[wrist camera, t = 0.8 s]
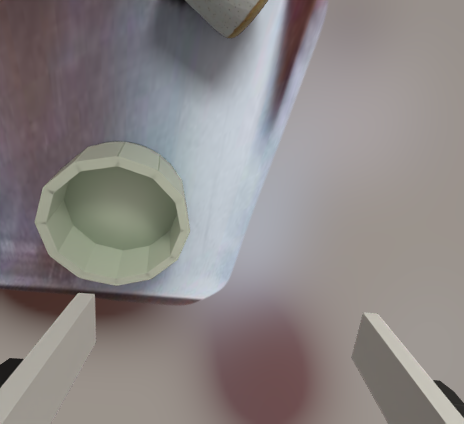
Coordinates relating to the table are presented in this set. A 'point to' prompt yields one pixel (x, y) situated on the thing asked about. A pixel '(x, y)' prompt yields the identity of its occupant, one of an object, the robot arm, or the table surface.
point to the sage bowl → (114, 214)
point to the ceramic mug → (228, 14)
